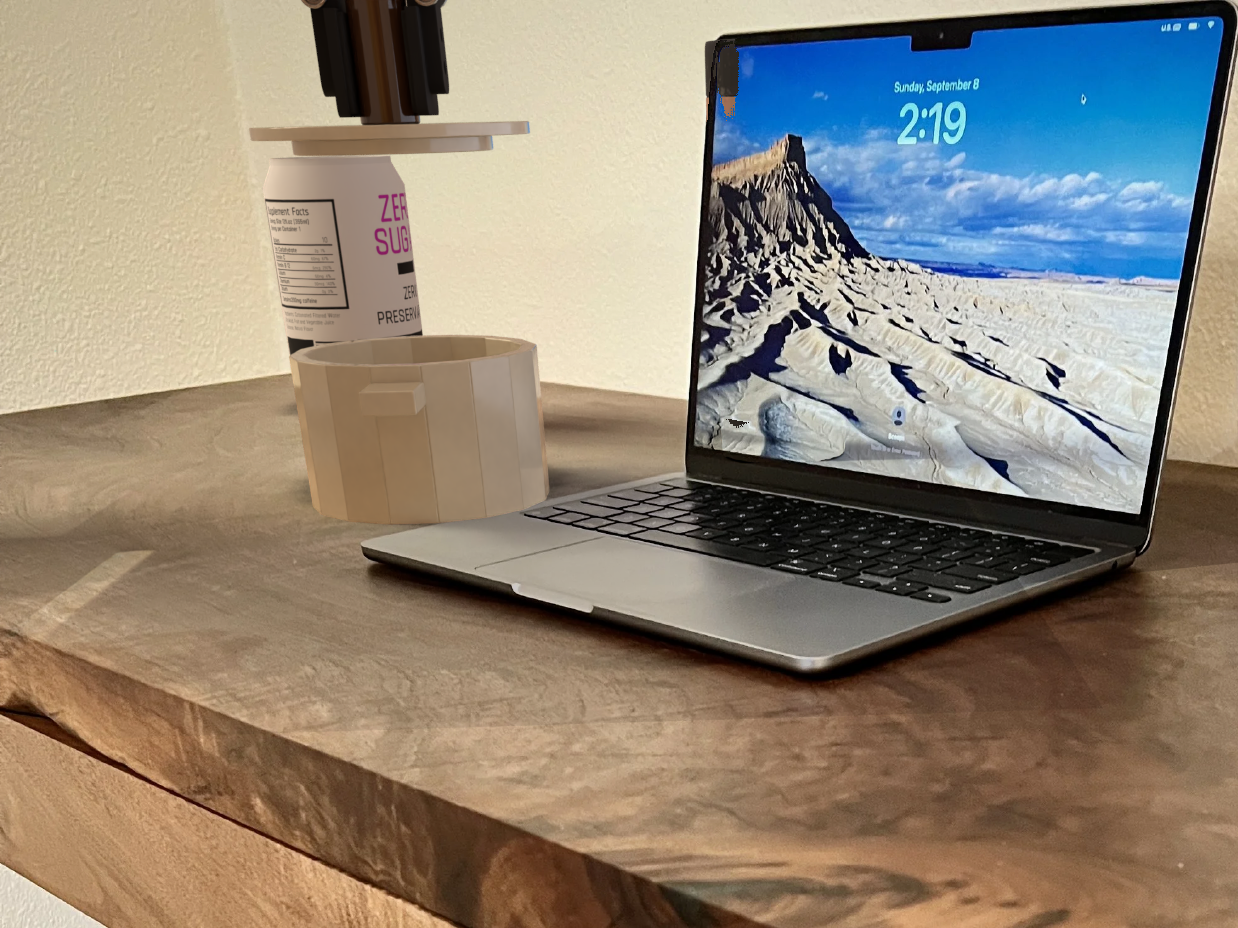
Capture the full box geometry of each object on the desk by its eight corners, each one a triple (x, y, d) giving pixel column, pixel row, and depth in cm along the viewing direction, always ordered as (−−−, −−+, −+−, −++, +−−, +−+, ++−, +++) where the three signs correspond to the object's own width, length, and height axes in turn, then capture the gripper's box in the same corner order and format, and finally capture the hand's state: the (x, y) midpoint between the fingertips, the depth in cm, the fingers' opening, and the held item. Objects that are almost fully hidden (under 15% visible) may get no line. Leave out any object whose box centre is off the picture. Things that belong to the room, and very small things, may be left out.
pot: (280, 552, 73) (250, 377, 69) (351, 479, 87) (329, 331, 84) (532, 545, 73) (516, 370, 69) (561, 473, 88) (549, 326, 84)
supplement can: (298, 420, 105) (256, 157, 97) (426, 412, 107) (394, 153, 99) (304, 440, 98) (259, 160, 91) (441, 431, 100) (407, 155, 93)
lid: (221, 159, 67) (190, -18, 64) (288, 152, 77) (265, 0, 74) (516, 151, 67) (500, -25, 64) (543, 146, 77) (530, -5, 74)
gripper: (539, -412, 65) (578, 111, 75) (138, -405, 65) (228, 120, 74) (520, -470, 59) (566, 111, 68) (75, -462, 59) (181, 121, 68)
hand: (389, 111), depth 71 cm, fingers closed on lid, 2 cm apart
